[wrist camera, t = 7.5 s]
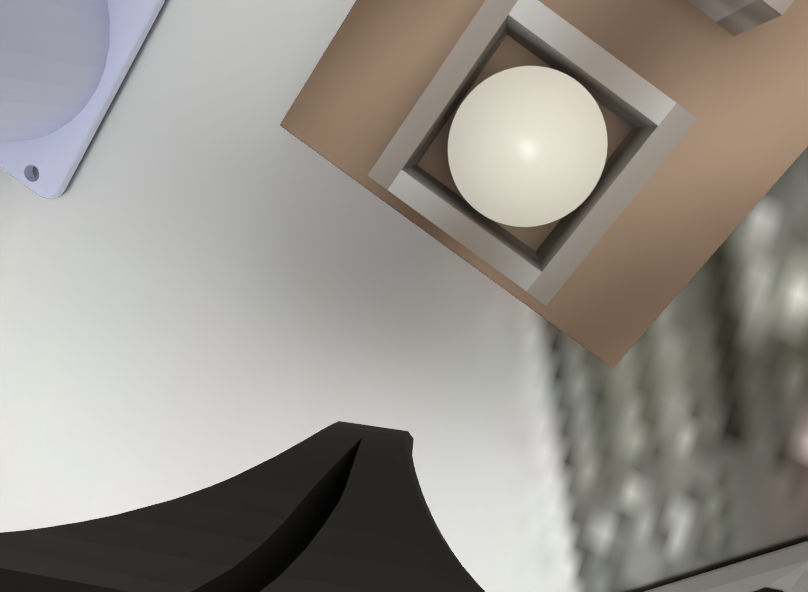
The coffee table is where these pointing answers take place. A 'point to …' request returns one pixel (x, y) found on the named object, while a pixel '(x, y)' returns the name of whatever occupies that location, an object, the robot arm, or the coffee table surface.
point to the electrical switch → (752, 574)
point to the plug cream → (527, 146)
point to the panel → (625, 124)
